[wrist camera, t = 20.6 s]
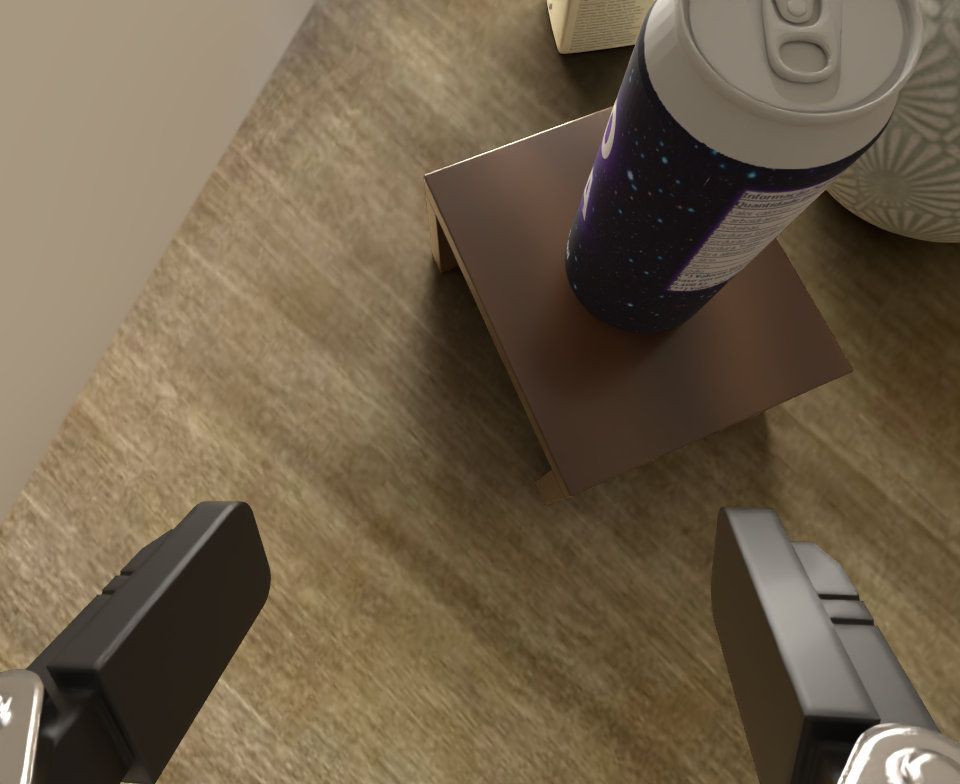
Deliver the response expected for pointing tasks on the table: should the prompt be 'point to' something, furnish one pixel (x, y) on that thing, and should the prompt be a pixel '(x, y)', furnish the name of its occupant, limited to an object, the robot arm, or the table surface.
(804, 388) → the shelf
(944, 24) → the planter
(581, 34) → the box
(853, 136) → the beverage can
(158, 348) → the table surface
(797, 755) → the robot arm
